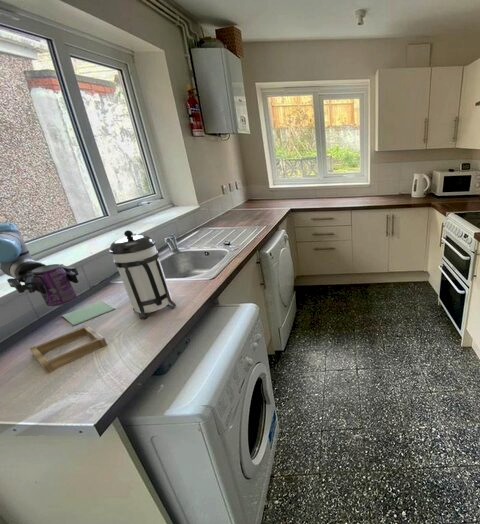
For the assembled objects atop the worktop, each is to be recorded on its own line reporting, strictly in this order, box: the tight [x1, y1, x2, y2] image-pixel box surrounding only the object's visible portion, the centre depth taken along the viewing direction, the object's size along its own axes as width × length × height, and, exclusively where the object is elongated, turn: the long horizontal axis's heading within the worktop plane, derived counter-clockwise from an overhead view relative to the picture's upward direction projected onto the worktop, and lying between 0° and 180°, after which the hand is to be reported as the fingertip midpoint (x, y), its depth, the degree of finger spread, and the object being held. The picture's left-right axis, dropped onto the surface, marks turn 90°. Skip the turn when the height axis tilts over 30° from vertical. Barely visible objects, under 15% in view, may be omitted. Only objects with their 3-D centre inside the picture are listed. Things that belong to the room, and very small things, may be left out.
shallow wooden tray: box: [29, 324, 108, 374], centre depth 85 cm, size 14×13×2 cm
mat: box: [61, 300, 116, 327], centre depth 105 cm, size 12×12×1 cm
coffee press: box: [108, 229, 177, 321], centre depth 99 cm, size 17×16×30 cm
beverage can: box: [32, 263, 77, 307], centre depth 89 cm, size 7×7×12 cm
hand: (59, 283), depth 87 cm, fingers closed on beverage can, 7 cm apart
